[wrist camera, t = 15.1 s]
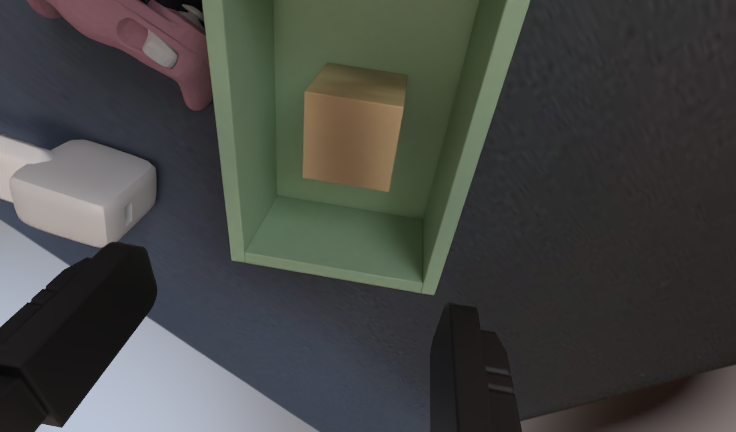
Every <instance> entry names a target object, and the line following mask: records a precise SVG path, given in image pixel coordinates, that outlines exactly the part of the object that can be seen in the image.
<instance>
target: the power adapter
mask: <svg viewBox="0 0 736 432" xmlns="http://www.w3.org/2000/svg"><path fill="white" fill-rule="evenodd" d="M156 190H157V177H156V168H155V167H154V166H153V165H152V164H151V163H150V162H148V161H146V160H144V159H141V158H139V157H136V156H133V155H131V154H128V153H125V152H122V151H119V150H116V149H113V148H110V147H107V146H104V145H101V144H98V143H95V142H92V141H88V140H70V141H68V142H66V143H64V144H62V145H60V146H58V147H56V148H54V149H52V150H51V151H50V150H48V149H45V148H42V147H39V146H36V145H33V144H30V143H27V142H24V141H21V140H18V139H15V138H12V137H9V136H6V135H3V134H0V199H3V200H6V201H9V202H12V203H14V207H15V210H16V213H17V215H18V217H19V219H21V220H22V221H23V222H24V223H26V224H27V225H29V226H32V227H35V228H37V229H40V230H43V231H46V232H49V233H52V234H55V235H58V236H61V237H64V238H68V239H71V240H74V241H77V242H81V243H84V244H87V245H91V246H95V247H99V248H100V247H104V246H106V245H107V244H108V243H111V242H117V241H118V240H120V239H121V238H122V237H123V236H124V235H125V234H126V233H127V232H128V231H129V230H130V229H131V228H132V227H133V226H134V225H135V224H136V223H137V222H138V221H139V220H140V219H141V218H142V217H143V216H144V215H145V214H146V213H147V212H148V211H149V210H150V209H151V208H152V207H153V206H154V204H155V200H156Z"/></svg>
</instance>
